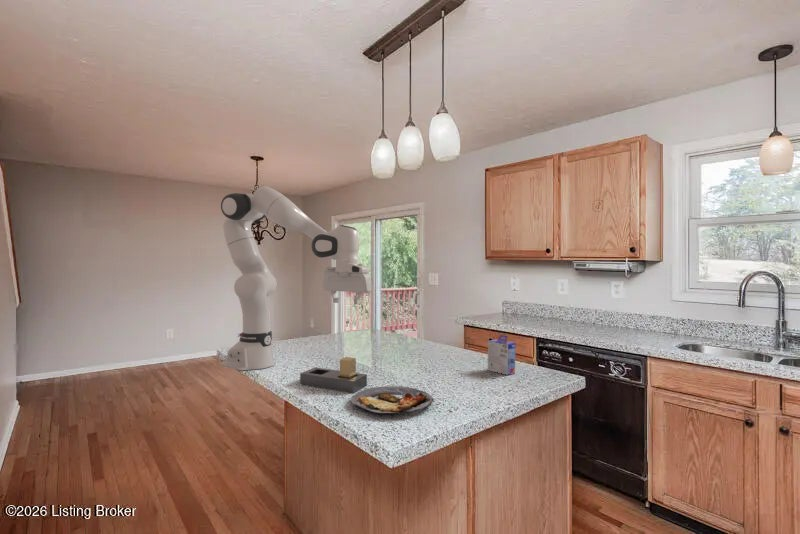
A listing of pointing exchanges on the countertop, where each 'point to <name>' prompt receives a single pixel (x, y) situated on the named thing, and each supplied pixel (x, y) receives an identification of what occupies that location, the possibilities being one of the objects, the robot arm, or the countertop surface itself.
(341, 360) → the square peg
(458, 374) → the countertop surface
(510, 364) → the ink cartridge box
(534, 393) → the countertop surface
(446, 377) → the countertop surface
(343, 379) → the grey peg hole block
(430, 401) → the food plate
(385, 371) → the countertop surface
